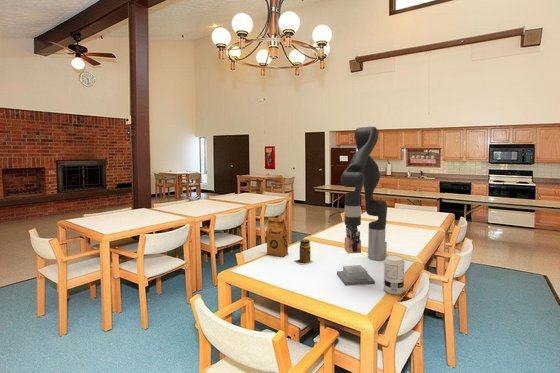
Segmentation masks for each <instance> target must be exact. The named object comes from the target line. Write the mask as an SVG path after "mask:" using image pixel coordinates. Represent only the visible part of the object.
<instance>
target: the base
mask: <svg viewBox="0 0 560 373" xmlns="http://www.w3.org/2000/svg"><path fill="white" fill-rule="evenodd" d="M342 266H343V267H342V270H336V275H337V276H338V278H339V279H340V280H341V282H342V283H343V284H344V286H357V285H361V286H362V285H375V283H376V282H375V280H374V278H373V277H372V276H371V275H370V274H369V272H368V270H366V268H365V267H363V265H361V264H358V265H357V264H356V265H342Z"/></svg>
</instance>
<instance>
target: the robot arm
mask: <svg viewBox="0 0 560 373" xmlns="http://www.w3.org/2000/svg"><path fill="white" fill-rule="evenodd" d="M354 139H355V140H354V141H355V144H356V145H355V146H356V149H357V151H356V152H355V153H354V154H353V156H352V158H351V160H350V163H349V165H348V166H347V167H346V168H345V170H343V172H342V174H341V176H340V184H341V185H342V186H343V187H345V188H354V190H353V191H348V192H346V193H345V194H344V214H343V215H344V225H345V234H346V236H345V237H351V239H352V250H353V252H357V251H358V244H359V243H360V240H361V231H359V229H358V227H359V226H361V224H362V206H361V195H362V190H363V191H364V203H365V204H364V207H365V213H366V214H367V215H368V216H372V217H377V220H373V221H371V222H368V233H367V234H368V237H367V238H368V239H367V240H368V241H367V242H368V243H367V245H368V248H367V257H368V259H370V260H374V261H383V260H385V259H386V256H387V245H388V242H387V241H386V228H387V227H386V225H387V215H388V214H387V213H388V205H387V201H385V200H382V199H374V191H375V189H376V188H377V185H378V184H379V182H380V179H381V178H380V177H381V176H380V169H379V165H378V164H377V162H376V161H375V160H374V159H373V158H372V157H371V153H372V152H373V151H374V148H375V146H376V144H378V143H377V142H378V140H379V131H378V129H377V127H376V126H363V127H357V128H355V130H354ZM355 240H356V241H355Z"/></svg>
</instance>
